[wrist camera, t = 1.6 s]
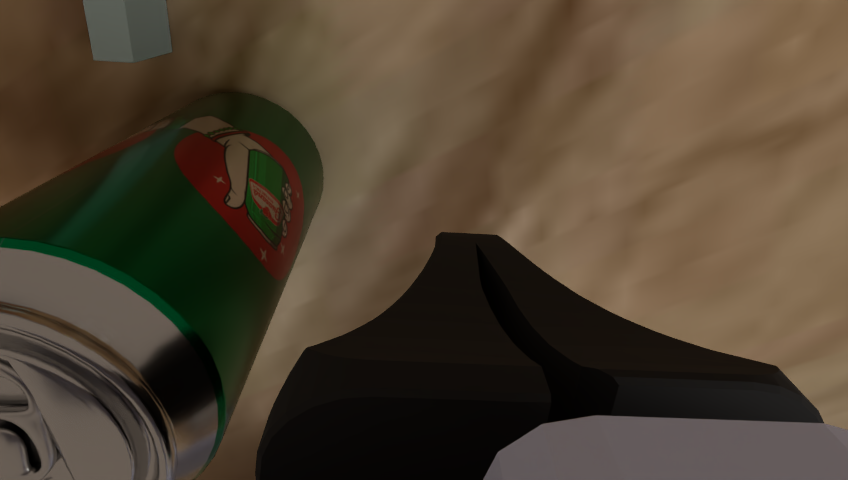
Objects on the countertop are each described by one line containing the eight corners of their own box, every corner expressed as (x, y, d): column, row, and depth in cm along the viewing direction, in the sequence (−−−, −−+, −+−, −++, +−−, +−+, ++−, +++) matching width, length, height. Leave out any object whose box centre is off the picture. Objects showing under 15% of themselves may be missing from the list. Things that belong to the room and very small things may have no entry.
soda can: (179, 234, 19) (-138, 577, 8) (158, 83, 17) (-317, 269, 6) (326, 241, 19) (218, 583, 8) (325, 93, 17) (174, 290, 6)
